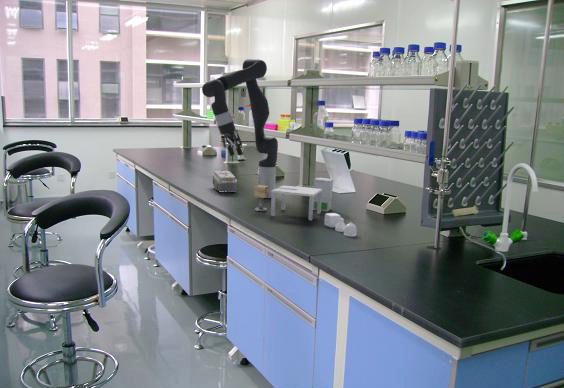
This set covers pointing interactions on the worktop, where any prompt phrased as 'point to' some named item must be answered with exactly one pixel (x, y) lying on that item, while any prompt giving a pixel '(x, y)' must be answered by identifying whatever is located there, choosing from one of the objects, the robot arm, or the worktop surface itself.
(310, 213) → the white slotted table
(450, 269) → the worktop surface
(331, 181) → the skincare box
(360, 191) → the worktop surface
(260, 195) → the tan block with stem
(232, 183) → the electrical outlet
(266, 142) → the robot arm
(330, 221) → the container set
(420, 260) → the worktop surface
